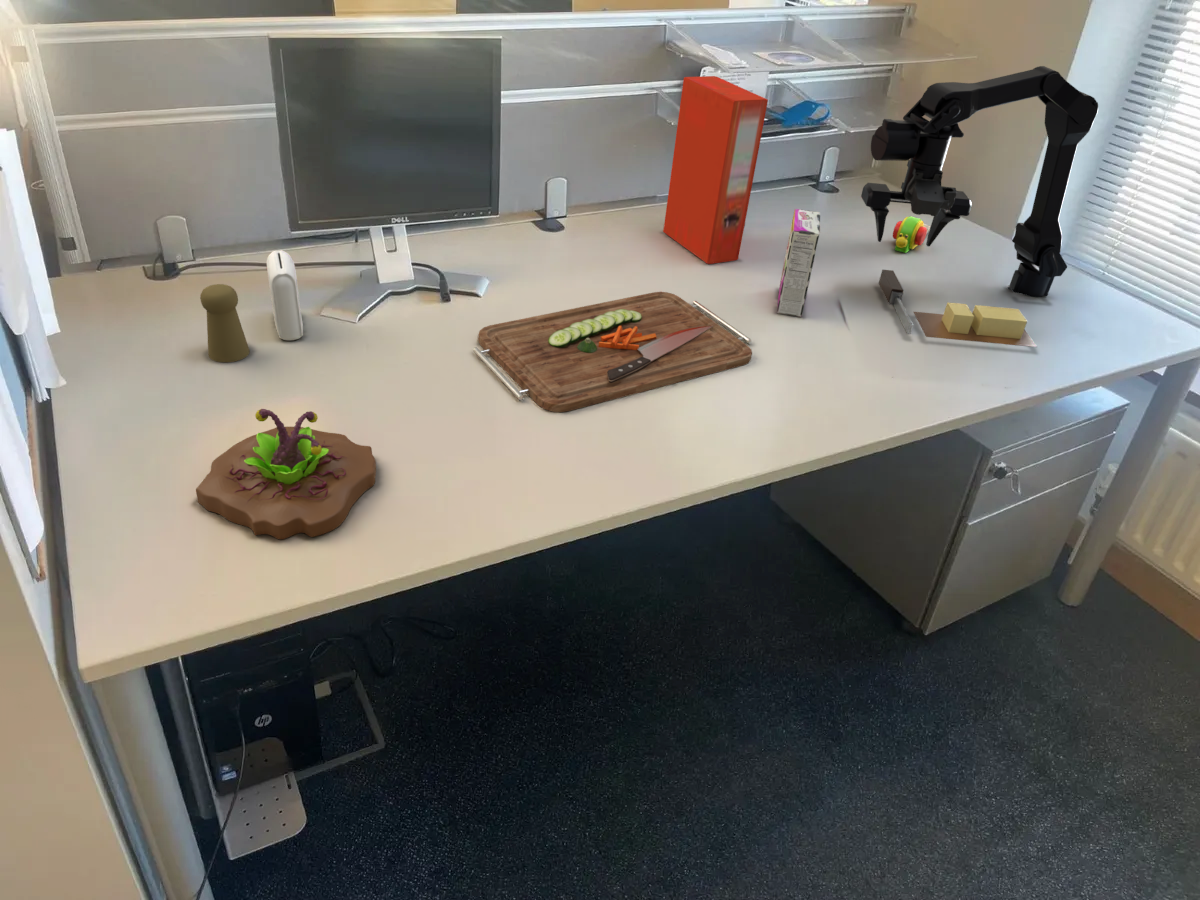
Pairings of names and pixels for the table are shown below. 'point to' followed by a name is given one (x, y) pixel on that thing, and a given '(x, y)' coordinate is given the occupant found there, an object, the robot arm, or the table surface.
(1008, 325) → the butter block
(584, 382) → the chopping board
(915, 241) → the toy measuring tape
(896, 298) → the knife
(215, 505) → the plant
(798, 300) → the candy bar box
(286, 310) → the photo printer
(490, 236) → the table surface
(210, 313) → the olive brown pawn
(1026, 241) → the robot arm
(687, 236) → the file binder
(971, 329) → the butter board
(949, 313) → the butter slice
